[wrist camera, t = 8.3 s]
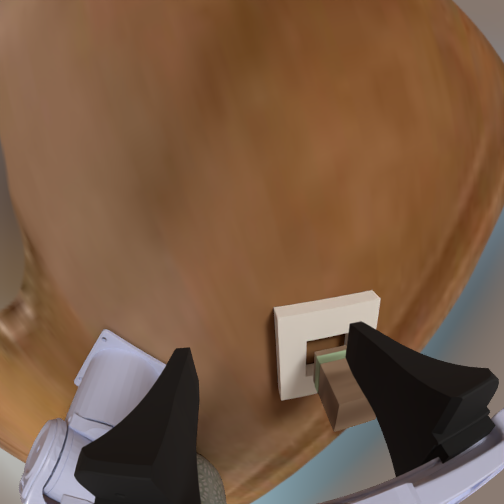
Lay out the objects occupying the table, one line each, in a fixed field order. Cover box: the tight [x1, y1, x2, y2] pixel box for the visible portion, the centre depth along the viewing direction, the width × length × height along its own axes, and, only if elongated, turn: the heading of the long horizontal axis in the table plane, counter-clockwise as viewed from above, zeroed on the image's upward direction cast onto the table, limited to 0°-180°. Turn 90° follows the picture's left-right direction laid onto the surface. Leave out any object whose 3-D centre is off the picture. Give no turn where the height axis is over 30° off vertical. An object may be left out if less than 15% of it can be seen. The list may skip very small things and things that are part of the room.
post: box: [313, 345, 376, 432], centre depth 20 cm, size 4×4×6 cm
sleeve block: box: [274, 290, 380, 401], centre depth 25 cm, size 10×9×2 cm
